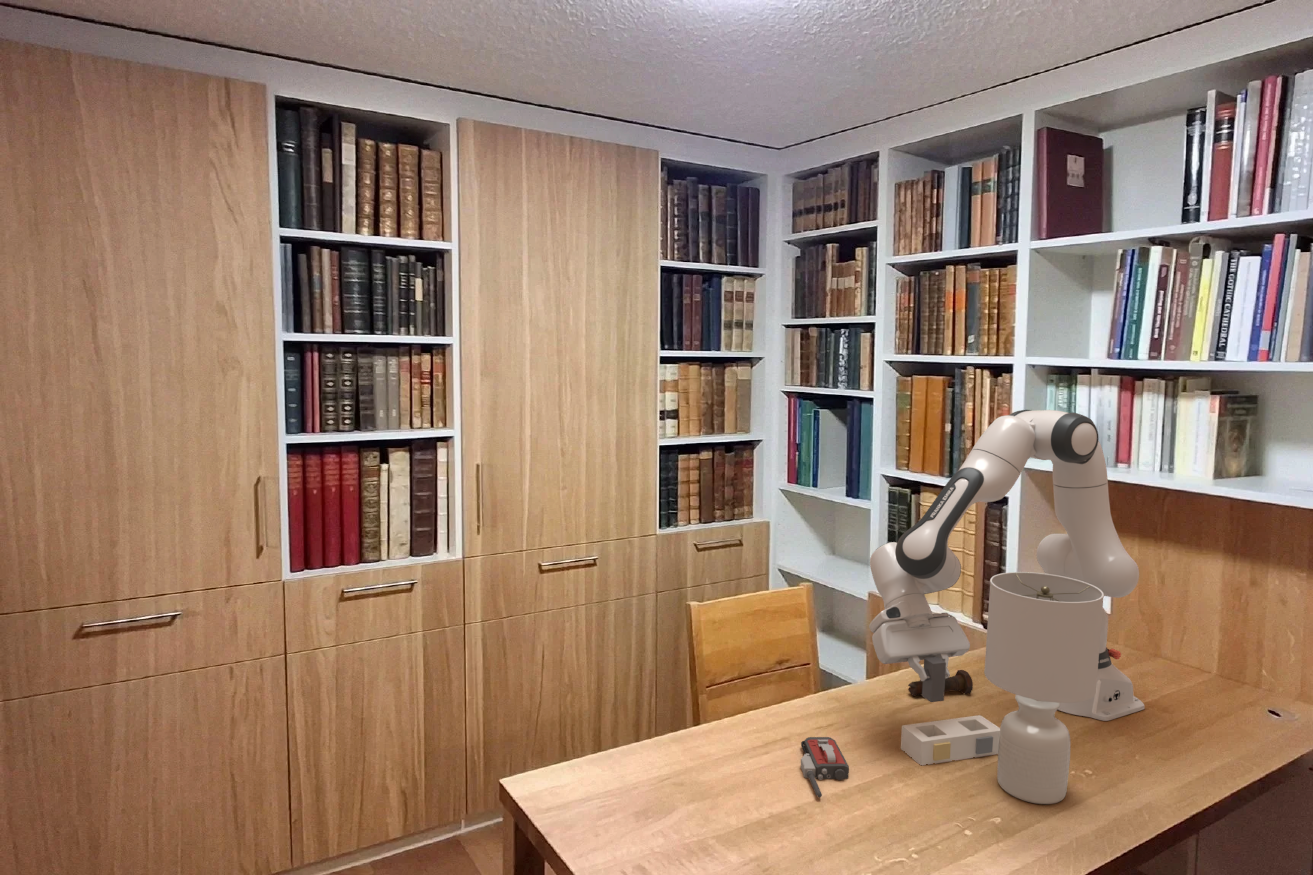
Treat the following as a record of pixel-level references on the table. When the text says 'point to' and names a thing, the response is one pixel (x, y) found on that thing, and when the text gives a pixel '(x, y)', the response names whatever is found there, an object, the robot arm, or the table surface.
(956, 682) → the bolt
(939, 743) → the white socket block
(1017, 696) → the lamp
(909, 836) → the table surface
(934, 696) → the plug
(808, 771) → the walkie-talkie
